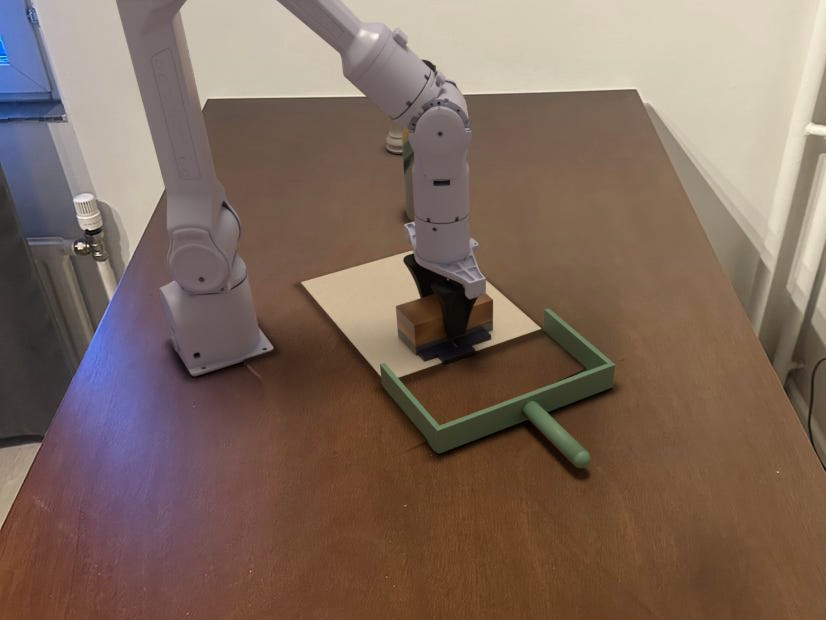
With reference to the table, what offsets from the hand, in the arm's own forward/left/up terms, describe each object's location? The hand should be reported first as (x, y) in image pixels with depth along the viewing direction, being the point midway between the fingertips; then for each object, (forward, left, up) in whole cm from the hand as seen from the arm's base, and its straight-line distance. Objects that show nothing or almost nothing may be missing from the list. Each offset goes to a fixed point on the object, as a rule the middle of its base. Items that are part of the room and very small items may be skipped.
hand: (445, 324), depth 101 cm
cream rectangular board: (0, +7, -2) cm, 7 cm away
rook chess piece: (+19, +49, -2) cm, 53 cm away
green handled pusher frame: (0, -16, -2) cm, 16 cm away
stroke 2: (+2, -3, -1) cm, 4 cm away
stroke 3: (-1, -4, -1) cm, 5 cm away
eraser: (0, 0, -1) cm, 1 cm away
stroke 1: (-3, -3, -1) cm, 4 cm away
